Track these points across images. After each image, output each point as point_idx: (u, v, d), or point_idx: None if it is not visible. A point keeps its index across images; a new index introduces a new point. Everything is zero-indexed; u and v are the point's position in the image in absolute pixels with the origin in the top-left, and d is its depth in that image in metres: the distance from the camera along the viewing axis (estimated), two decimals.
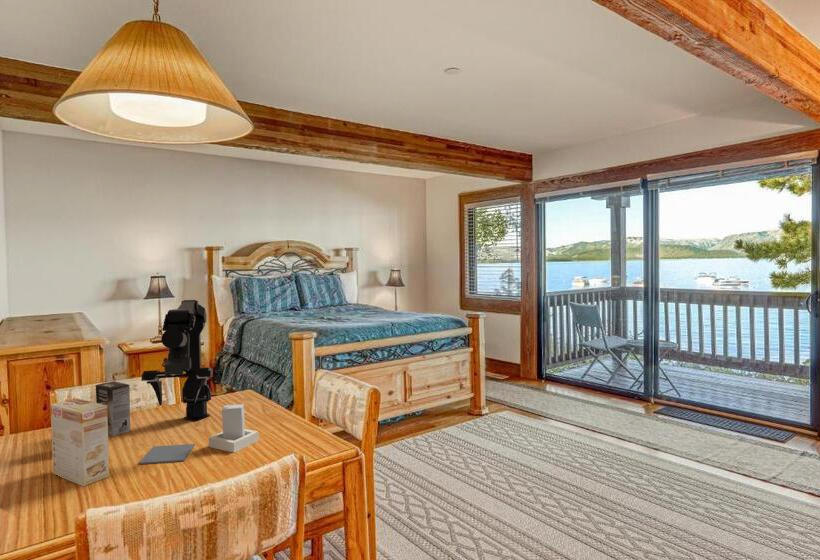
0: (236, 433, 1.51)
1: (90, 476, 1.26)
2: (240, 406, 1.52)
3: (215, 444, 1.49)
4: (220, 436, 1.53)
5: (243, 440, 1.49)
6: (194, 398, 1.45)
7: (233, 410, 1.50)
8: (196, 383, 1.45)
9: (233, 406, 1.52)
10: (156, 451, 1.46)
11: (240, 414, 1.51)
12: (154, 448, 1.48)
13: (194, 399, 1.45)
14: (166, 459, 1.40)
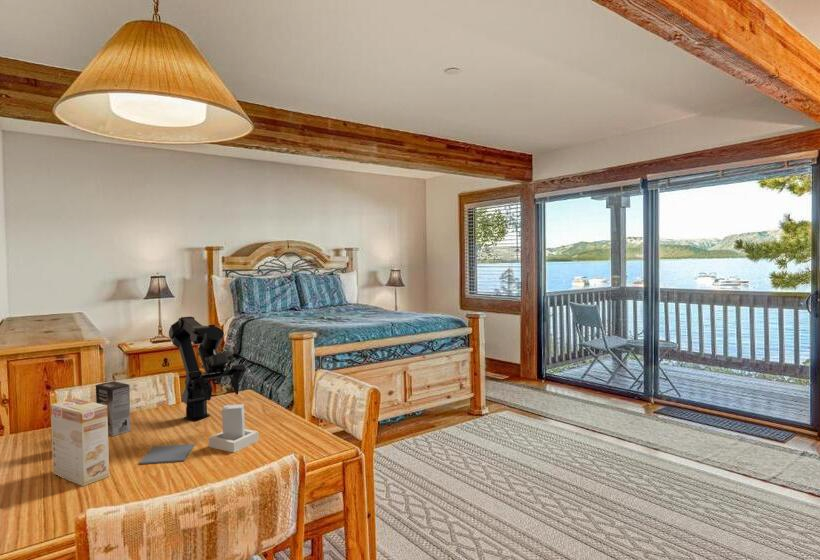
0: (236, 433, 1.51)
1: (90, 476, 1.26)
2: (240, 406, 1.52)
3: (215, 444, 1.49)
4: (220, 436, 1.53)
5: (243, 440, 1.49)
6: (237, 389, 1.61)
7: (233, 410, 1.50)
8: (236, 376, 1.63)
9: (233, 406, 1.52)
10: (156, 451, 1.46)
11: (240, 414, 1.51)
12: (154, 448, 1.48)
13: (237, 390, 1.61)
14: (166, 459, 1.40)
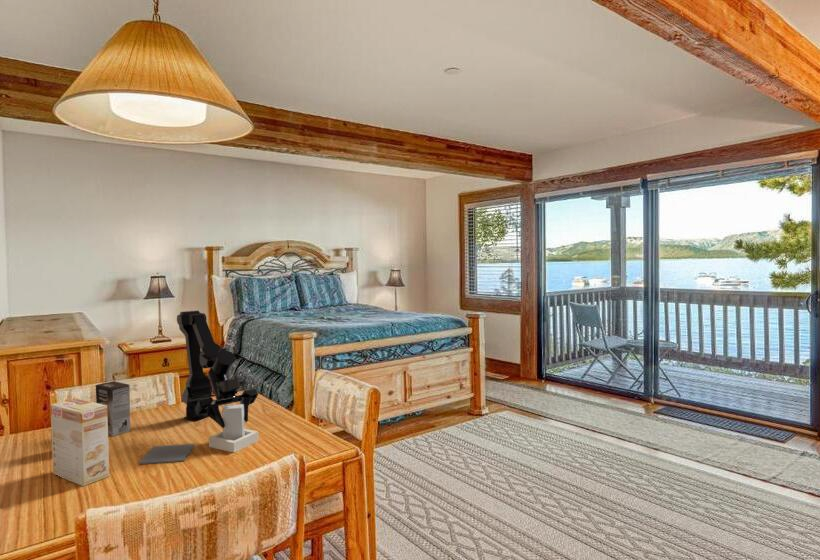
0: (236, 433, 1.51)
1: (90, 476, 1.26)
2: (240, 406, 1.52)
3: (215, 444, 1.49)
4: (220, 436, 1.53)
5: (243, 440, 1.49)
6: (246, 417, 1.54)
7: (233, 410, 1.50)
8: (245, 403, 1.56)
9: (233, 406, 1.52)
10: (156, 451, 1.46)
11: (240, 414, 1.51)
12: (154, 448, 1.48)
13: (246, 418, 1.54)
14: (166, 459, 1.40)
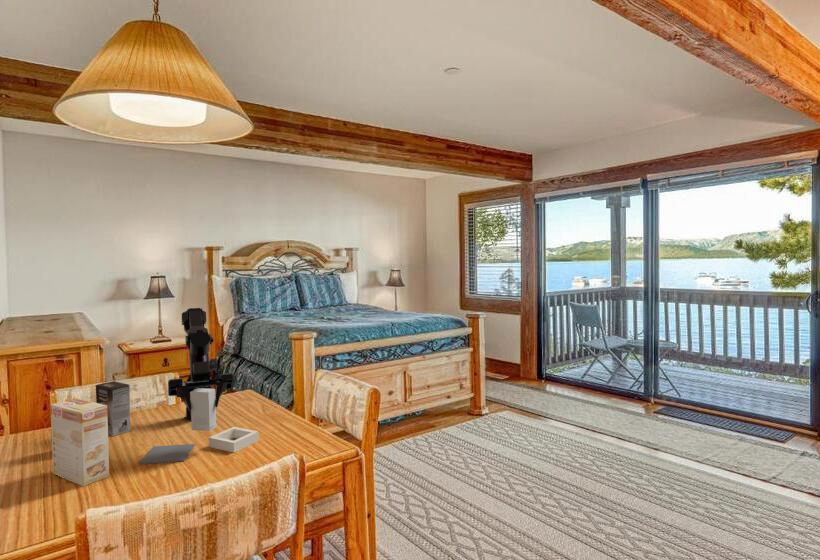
0: (203, 418, 1.45)
1: (90, 476, 1.26)
2: (209, 390, 1.46)
3: (215, 444, 1.49)
4: (220, 436, 1.53)
5: (243, 440, 1.49)
6: (216, 402, 1.48)
7: (200, 393, 1.45)
8: (218, 387, 1.50)
9: (202, 390, 1.47)
10: (156, 451, 1.46)
11: (207, 399, 1.45)
12: (154, 448, 1.48)
13: (216, 403, 1.48)
14: (166, 459, 1.40)
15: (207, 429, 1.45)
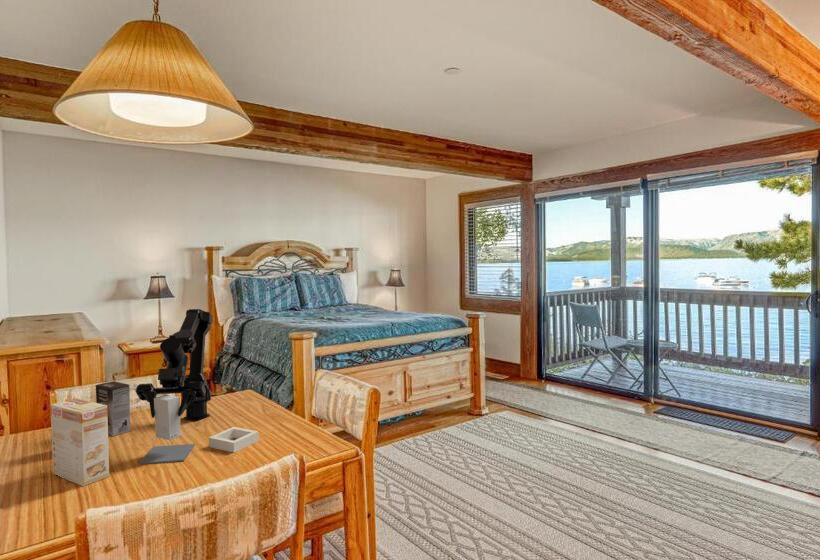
0: (164, 426, 1.42)
1: (90, 476, 1.26)
2: (170, 398, 1.42)
3: (215, 444, 1.49)
4: (220, 436, 1.53)
5: (243, 440, 1.49)
6: (179, 410, 1.44)
7: (161, 401, 1.42)
8: (184, 395, 1.46)
9: (166, 397, 1.44)
10: (156, 451, 1.46)
11: (167, 407, 1.41)
12: (154, 448, 1.48)
13: (179, 412, 1.44)
14: (166, 459, 1.40)
15: (167, 438, 1.42)
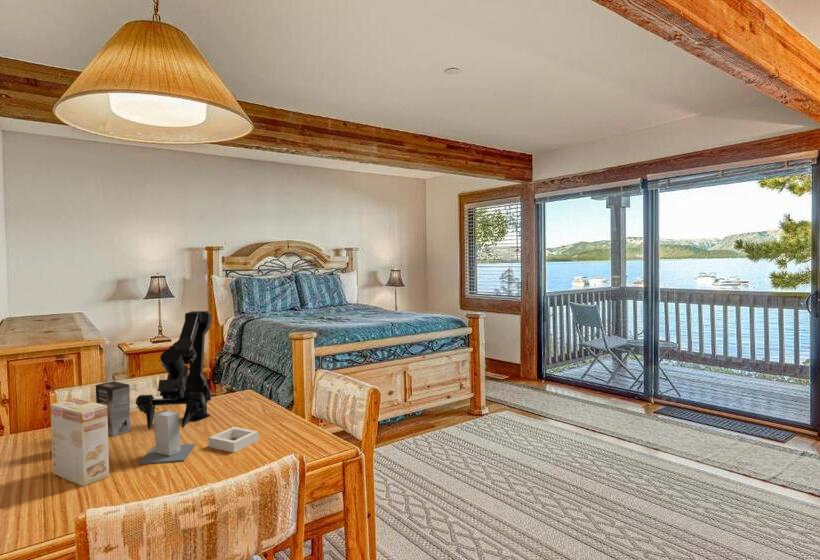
0: (163, 441, 1.42)
1: (90, 476, 1.26)
2: (170, 414, 1.43)
3: (215, 444, 1.49)
4: (220, 436, 1.53)
5: (243, 440, 1.49)
6: (183, 422, 1.44)
7: (161, 417, 1.42)
8: (187, 406, 1.46)
9: (165, 413, 1.44)
10: None
11: (166, 423, 1.41)
12: (154, 448, 1.48)
13: (183, 423, 1.44)
14: (166, 459, 1.40)
15: (167, 454, 1.42)
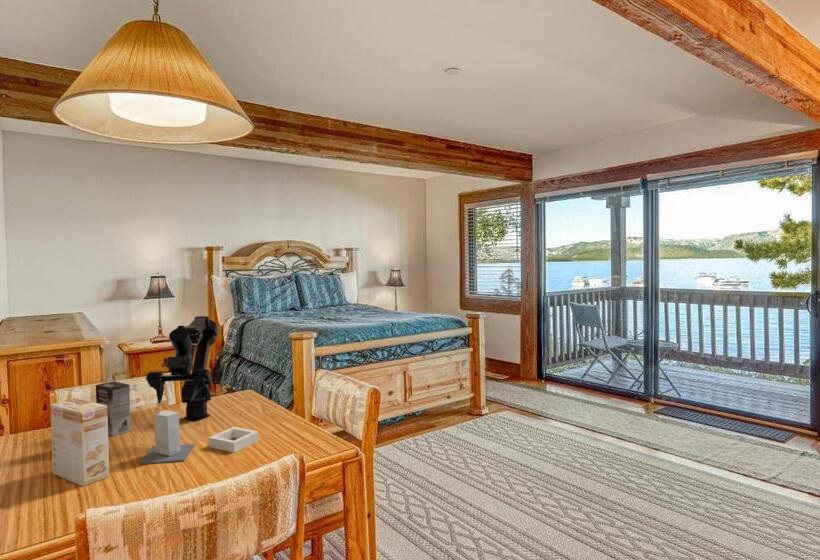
0: (163, 442, 1.42)
1: (90, 476, 1.26)
2: (170, 414, 1.43)
3: (215, 444, 1.49)
4: (220, 436, 1.53)
5: (243, 440, 1.49)
6: (190, 396, 1.53)
7: (161, 417, 1.42)
8: (194, 382, 1.55)
9: (165, 413, 1.44)
10: None
11: (166, 423, 1.41)
12: (154, 448, 1.48)
13: (190, 397, 1.52)
14: (166, 459, 1.40)
15: (167, 454, 1.42)
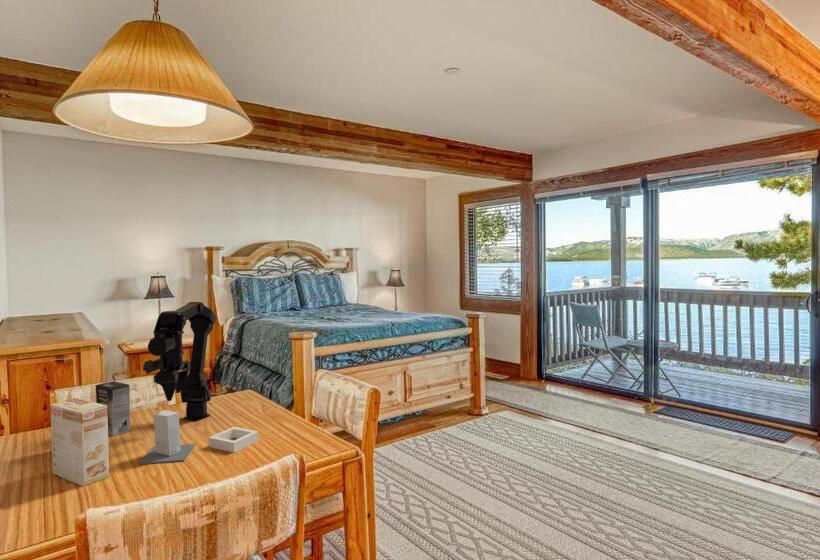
0: (163, 442, 1.42)
1: (90, 476, 1.26)
2: (170, 414, 1.43)
3: (215, 444, 1.49)
4: (220, 436, 1.53)
5: (243, 440, 1.49)
6: None
7: (161, 417, 1.42)
8: None
9: (165, 413, 1.44)
10: None
11: (166, 423, 1.41)
12: (154, 448, 1.48)
13: None
14: (166, 459, 1.40)
15: (167, 454, 1.42)
